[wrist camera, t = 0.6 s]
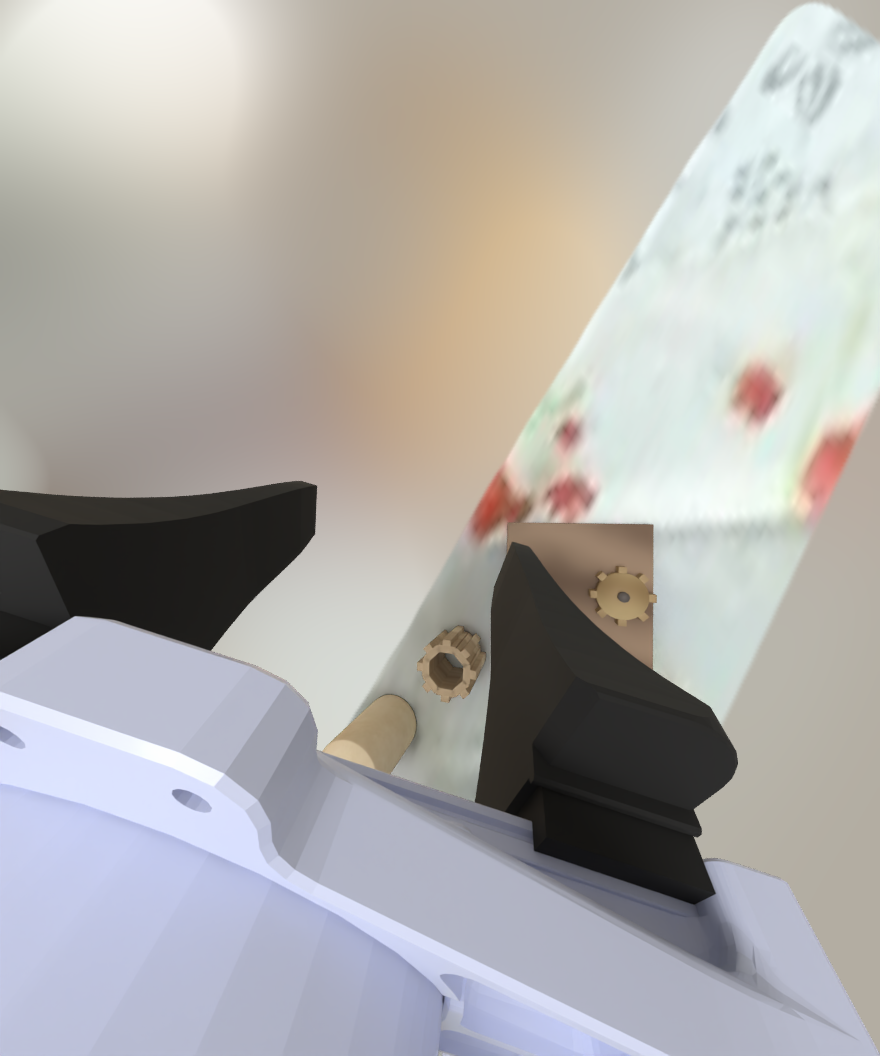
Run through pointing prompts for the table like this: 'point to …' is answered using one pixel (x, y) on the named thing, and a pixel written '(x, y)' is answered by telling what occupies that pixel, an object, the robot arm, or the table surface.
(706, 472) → the table surface
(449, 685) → the maple gear
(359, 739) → the candle
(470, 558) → the table surface
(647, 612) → the gear board
